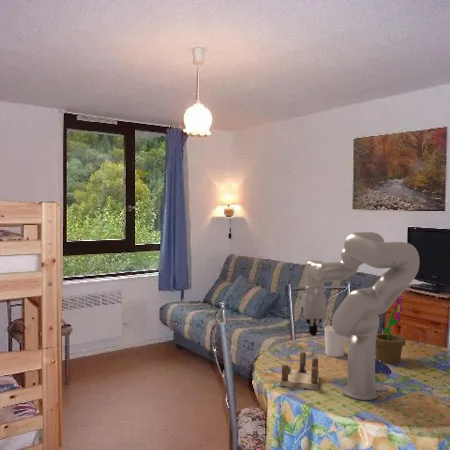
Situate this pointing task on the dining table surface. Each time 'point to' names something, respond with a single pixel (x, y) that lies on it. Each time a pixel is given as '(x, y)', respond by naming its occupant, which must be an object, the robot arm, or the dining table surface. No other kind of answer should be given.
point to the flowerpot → (390, 339)
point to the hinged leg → (302, 361)
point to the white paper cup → (334, 343)
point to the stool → (301, 377)
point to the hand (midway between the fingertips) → (312, 334)
